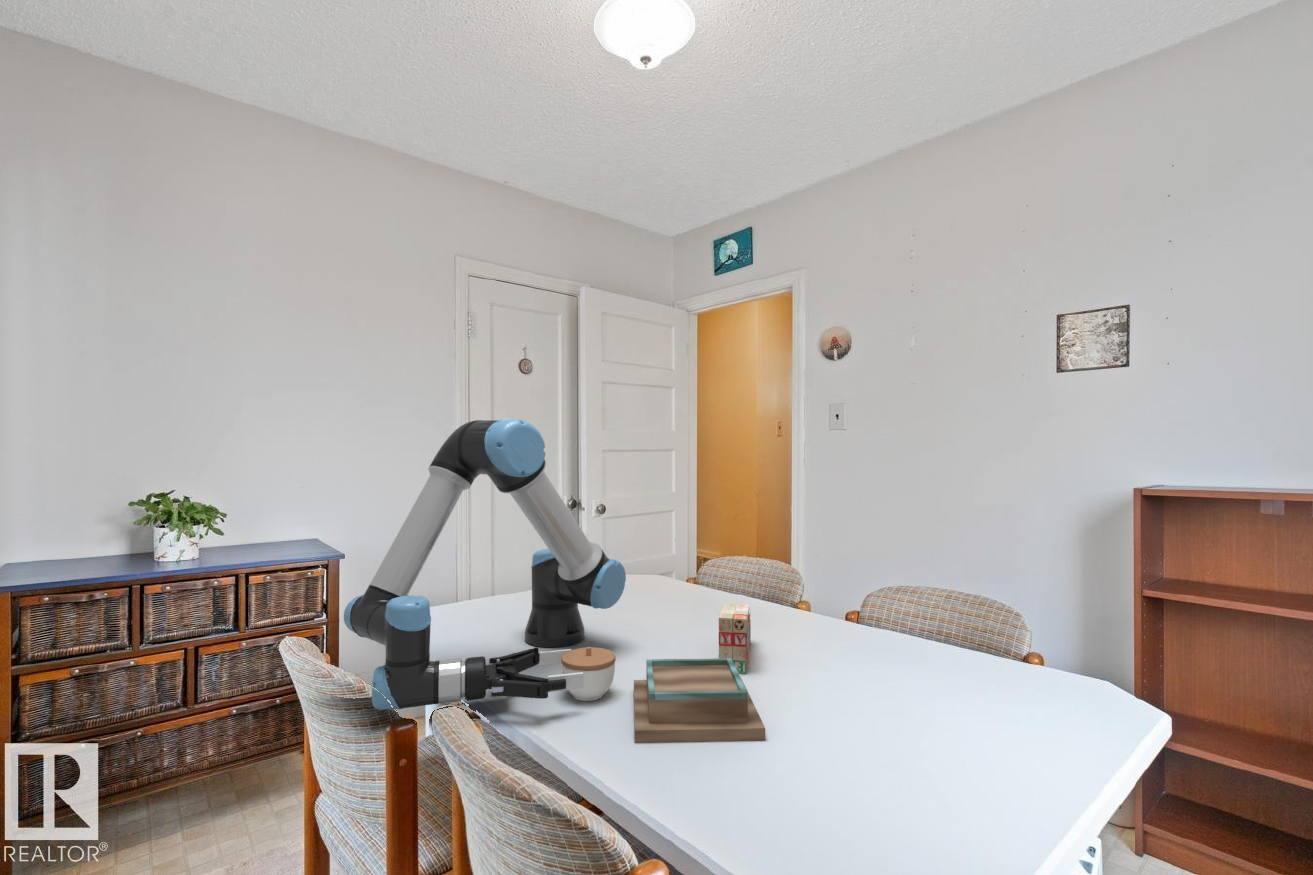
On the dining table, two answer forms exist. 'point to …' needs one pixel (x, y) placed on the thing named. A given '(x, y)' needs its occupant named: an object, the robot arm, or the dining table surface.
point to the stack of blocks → (735, 635)
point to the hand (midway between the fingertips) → (577, 667)
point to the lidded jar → (590, 671)
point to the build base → (694, 728)
